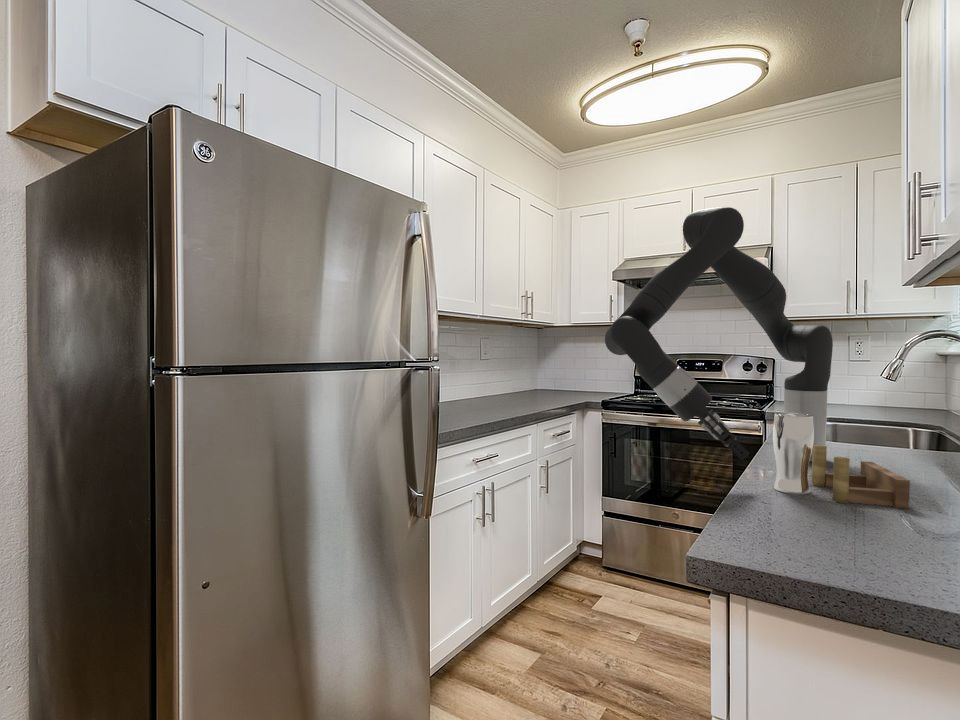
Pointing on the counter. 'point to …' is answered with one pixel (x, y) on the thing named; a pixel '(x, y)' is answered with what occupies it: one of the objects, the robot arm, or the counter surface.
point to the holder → (860, 481)
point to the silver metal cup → (792, 451)
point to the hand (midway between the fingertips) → (745, 456)
